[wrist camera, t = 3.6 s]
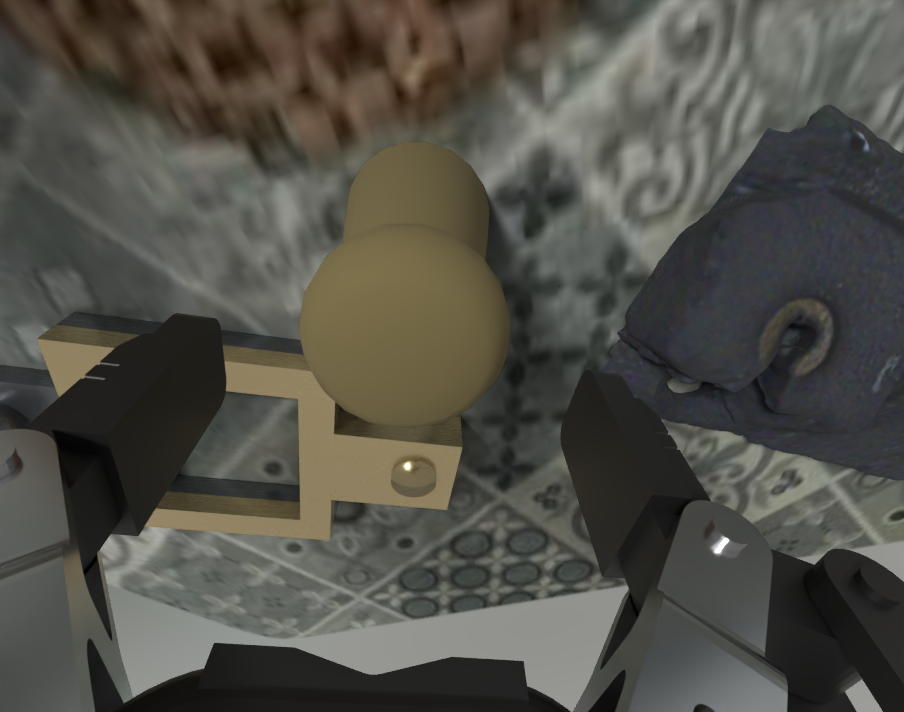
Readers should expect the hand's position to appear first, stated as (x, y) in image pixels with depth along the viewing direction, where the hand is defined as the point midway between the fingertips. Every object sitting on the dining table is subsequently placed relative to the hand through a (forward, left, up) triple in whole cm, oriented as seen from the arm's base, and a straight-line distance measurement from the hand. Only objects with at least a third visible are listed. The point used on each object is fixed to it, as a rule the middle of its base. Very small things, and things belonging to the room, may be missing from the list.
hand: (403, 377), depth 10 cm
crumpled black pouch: (+2, +21, -12) cm, 25 cm away
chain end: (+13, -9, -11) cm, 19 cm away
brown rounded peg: (0, 0, -11) cm, 11 cm away
